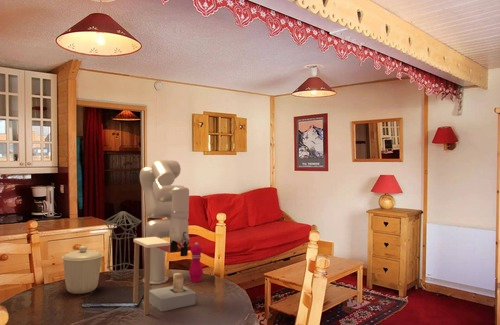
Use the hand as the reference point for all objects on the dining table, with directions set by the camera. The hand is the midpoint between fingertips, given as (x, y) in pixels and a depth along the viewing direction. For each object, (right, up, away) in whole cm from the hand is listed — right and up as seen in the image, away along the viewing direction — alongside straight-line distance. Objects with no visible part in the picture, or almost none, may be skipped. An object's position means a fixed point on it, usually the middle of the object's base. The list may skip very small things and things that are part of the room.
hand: (178, 253), depth 174 cm
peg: (0, -21, 0) cm, 21 cm away
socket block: (-3, -21, -2) cm, 21 cm away
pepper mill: (+3, -22, +32) cm, 39 cm away
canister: (-48, -20, +12) cm, 53 cm away
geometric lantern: (-37, -21, +36) cm, 56 cm away
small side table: (-11, -21, -8) cm, 25 cm away
